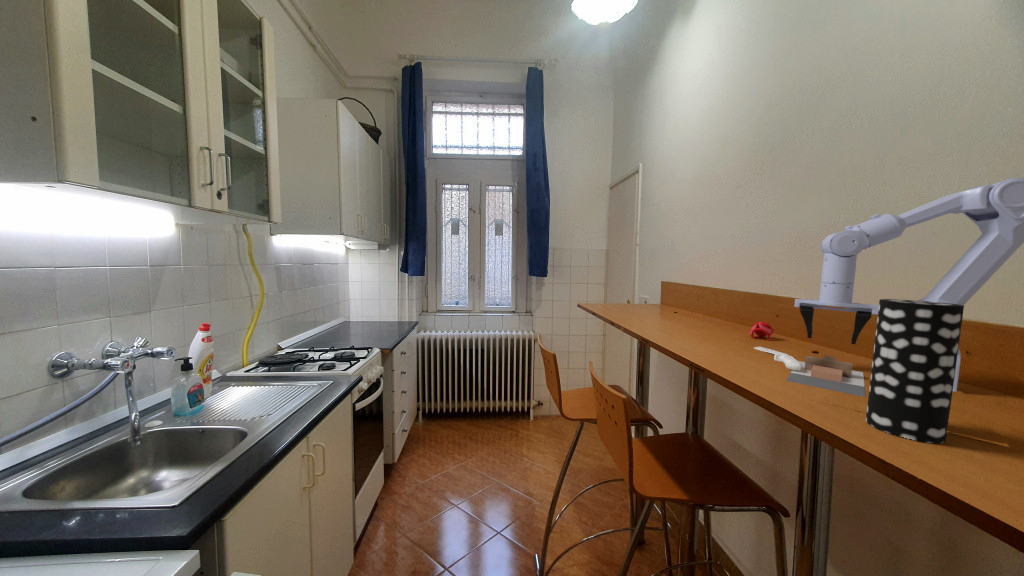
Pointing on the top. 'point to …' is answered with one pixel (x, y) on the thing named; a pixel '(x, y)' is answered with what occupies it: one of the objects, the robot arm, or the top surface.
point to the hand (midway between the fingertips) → (830, 340)
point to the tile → (826, 373)
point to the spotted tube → (914, 368)
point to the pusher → (829, 364)
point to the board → (830, 381)
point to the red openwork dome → (761, 330)
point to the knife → (783, 358)
